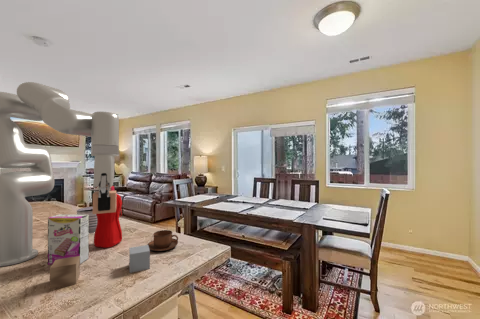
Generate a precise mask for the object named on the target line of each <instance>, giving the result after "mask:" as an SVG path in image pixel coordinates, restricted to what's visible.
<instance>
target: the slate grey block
mask: <svg viewBox="0 0 480 319" xmlns="http://www.w3.org/2000/svg"><path fill="white" fill-rule="evenodd" d="M128 253H129V255H128V256H129V260H128V262H129V263H128V264H129V273H130V274H131V273H135V272H136V273H137V272H141V271H146V270H150V268H151V266H150V265H151V263H150V262H151V255H150V254H151V250H150V249H149V246H148V244H145V245H138V246H131V247H129V252H128Z"/></svg>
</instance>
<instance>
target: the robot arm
mask: <svg viewBox="0 0 480 319" xmlns="http://www.w3.org/2000/svg"><path fill="white" fill-rule="evenodd" d="M12 118H15V119H21V120H28V121H34V122H41V121H42V122H43V123H44V124H45V125H47V126H48V127H50V128H51V129H54V131H56V132H59V133H61V134H66V135H72V136H74V135H75V136H81V137H90V138H91V141H90V142H91V145H90V150H91V151H90V156H91V157H94V162H93V182H92V183H93V184H92V187H93V189H98V191H99V198H98V211H106V210H110V197H109V193H110V191H111V187H112V186H114V180H115V164H116V163H115V161H116V160H115V158H116V157H119V156H120V118H119V115H117V114H116V113H114V112H109V111H95V112H93V113H89V112H83V111H80V110H76V109H71V103H70V99H69V96H68V95H67V93H65V91H63V90H62V89H60V88H55V87H52V86H50V85H49V86H48V85H46V84H42V83H39V82H32V81H28V82H27V81H25V82H23V83H21V84H19V85H18V86H17V88H16V94H15V93H10V92H4V91H0V168H1V169H6V170H7V169H9V170H10V169H12V170H14V169H15V170H16V169H30V170H27V171H26V170H24V171H23V170H22V171H8V172H3V173H0V267H5V266H6V267H7V266H12V265H16V264H20V263H24V262H26V261H29V260H31V259H33V258H35V257H37V256H38V254H39V250H38V249H36V248H33V237H34V236H33V235H34V234H33V231H34V229H33V226H34V225H33V217H34V215H33V207H32V205H31V203H30V202H29V201H28V200H27V199H26V198H27V197H33V196H34V197H35V196H40V195H47V194H49V193H51V191H53V189H54V187H55V174H54V168H53V162H52V157H51V153H50V152H49V150H48V149H47V148H46V147H45V146H43V145H41V144H35V143H33V144H32V143H26V142H25V139H24V134H23V130H22V129H21V128H20V127H19V125H18V124H17V123H16V122H15V121H13V120H12Z"/></svg>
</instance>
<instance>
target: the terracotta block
mask: <svg viewBox="0 0 480 319" xmlns="http://www.w3.org/2000/svg"><path fill="white" fill-rule="evenodd" d="M116 194H117V190H114V191H110V193H109V197H110V210H106V211H98V198H99V190H98V191H94V192H93V193H92V207H93V214H100V213H111V212H116Z"/></svg>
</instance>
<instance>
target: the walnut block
mask: <svg viewBox="0 0 480 319" xmlns="http://www.w3.org/2000/svg"><path fill="white" fill-rule="evenodd" d="M80 267H81V264H80V256H76V257H70V258H64V259H58V260H55V261H54V263H53V264H52V265H51V266H50V267H49V290H50V291H51V290H55V289H59V288H64V287H69V286H74V285H77V283H78V280H79V277H80V276H81V274H80V273H81V270H80Z"/></svg>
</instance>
